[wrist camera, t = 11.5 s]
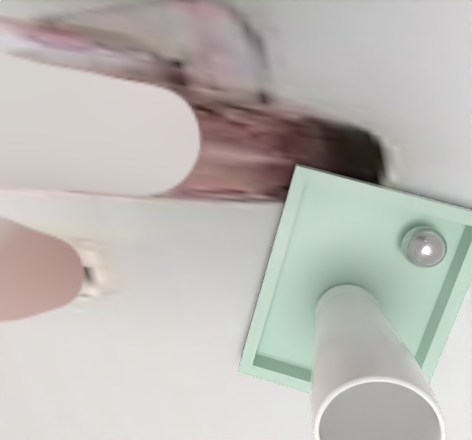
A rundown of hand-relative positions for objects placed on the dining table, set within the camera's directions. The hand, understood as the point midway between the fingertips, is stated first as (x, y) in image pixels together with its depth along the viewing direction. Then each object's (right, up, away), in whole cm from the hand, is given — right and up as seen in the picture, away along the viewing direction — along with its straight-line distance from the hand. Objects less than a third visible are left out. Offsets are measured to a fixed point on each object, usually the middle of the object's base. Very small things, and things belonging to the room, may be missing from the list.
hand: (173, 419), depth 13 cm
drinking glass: (+11, -2, +25) cm, 27 cm away
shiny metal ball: (+16, +4, +23) cm, 28 cm away
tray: (+12, 0, +25) cm, 27 cm away
